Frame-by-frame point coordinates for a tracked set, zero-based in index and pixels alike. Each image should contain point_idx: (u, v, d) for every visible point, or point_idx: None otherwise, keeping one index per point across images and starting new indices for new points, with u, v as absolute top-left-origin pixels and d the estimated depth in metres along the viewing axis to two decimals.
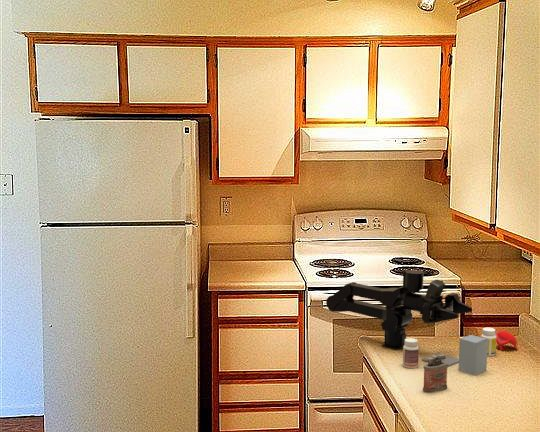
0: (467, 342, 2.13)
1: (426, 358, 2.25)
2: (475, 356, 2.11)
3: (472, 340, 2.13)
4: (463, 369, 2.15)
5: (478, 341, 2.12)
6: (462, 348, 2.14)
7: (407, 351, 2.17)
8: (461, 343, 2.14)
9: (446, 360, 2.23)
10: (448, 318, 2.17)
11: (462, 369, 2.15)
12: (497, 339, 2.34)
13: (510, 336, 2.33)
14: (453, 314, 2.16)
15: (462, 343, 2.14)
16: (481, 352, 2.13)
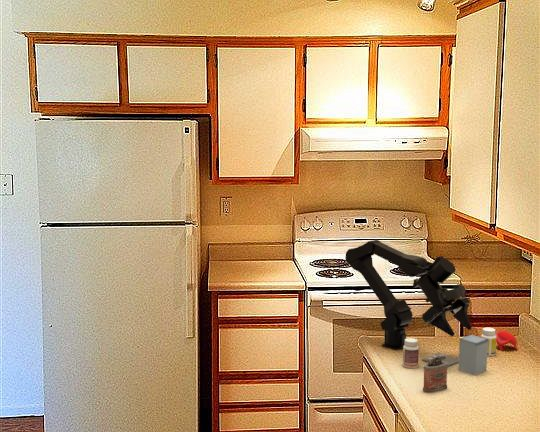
0: (467, 342, 2.13)
1: (426, 358, 2.25)
2: (475, 356, 2.11)
3: (472, 340, 2.13)
4: (463, 369, 2.15)
5: (478, 341, 2.12)
6: (462, 348, 2.14)
7: (407, 351, 2.17)
8: (461, 343, 2.14)
9: (446, 360, 2.23)
10: (444, 330, 2.16)
11: (462, 369, 2.15)
12: (497, 339, 2.34)
13: (510, 336, 2.33)
14: (450, 331, 2.14)
15: (462, 343, 2.14)
16: (481, 352, 2.13)
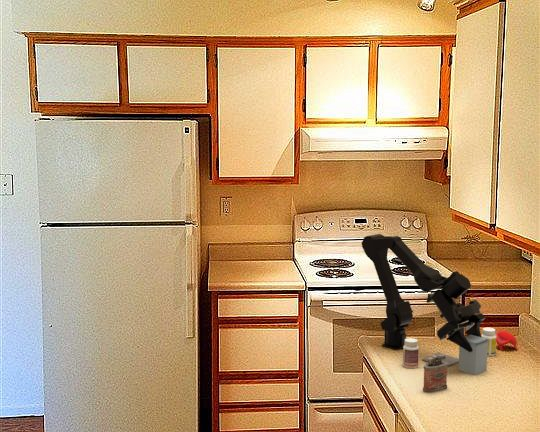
0: None
1: (426, 358, 2.25)
2: (475, 356, 2.11)
3: (472, 340, 2.13)
4: (463, 369, 2.15)
5: (478, 341, 2.12)
6: (462, 348, 2.14)
7: (407, 351, 2.17)
8: None
9: (446, 360, 2.23)
10: (462, 346, 2.13)
11: (462, 369, 2.15)
12: (497, 339, 2.34)
13: (510, 336, 2.33)
14: (468, 347, 2.12)
15: None
16: (481, 352, 2.13)
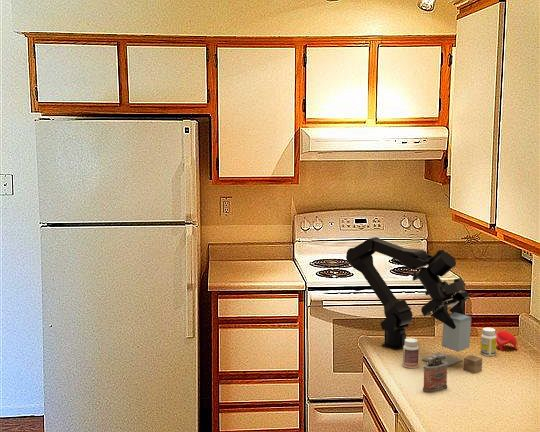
0: None
1: (426, 358, 2.25)
2: (458, 333, 2.15)
3: (456, 317, 2.16)
4: (446, 345, 2.19)
5: (462, 318, 2.16)
6: (446, 325, 2.18)
7: (407, 351, 2.17)
8: None
9: (446, 360, 2.23)
10: (445, 323, 2.16)
11: (445, 346, 2.19)
12: (497, 339, 2.34)
13: (510, 336, 2.33)
14: (452, 324, 2.15)
15: None
16: (465, 329, 2.16)
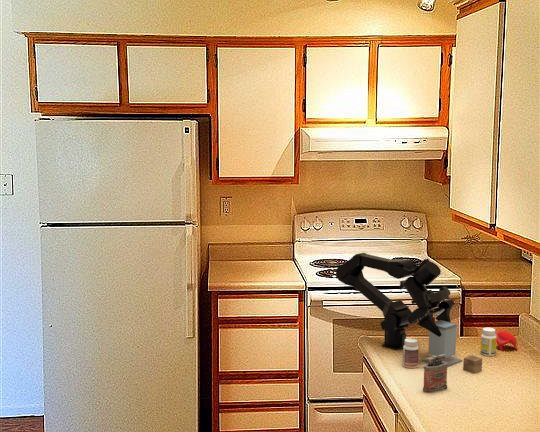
0: None
1: (426, 358, 2.25)
2: (444, 340, 2.19)
3: (441, 325, 2.21)
4: (432, 353, 2.23)
5: (447, 326, 2.20)
6: (432, 333, 2.22)
7: (407, 351, 2.17)
8: None
9: (446, 360, 2.23)
10: (431, 331, 2.21)
11: (432, 353, 2.23)
12: (497, 339, 2.34)
13: (510, 336, 2.33)
14: (437, 332, 2.20)
15: None
16: (450, 336, 2.20)
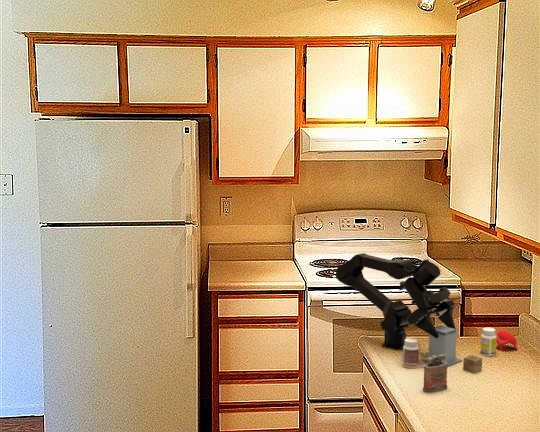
0: None
1: (426, 358, 2.25)
2: (444, 345, 2.19)
3: (441, 330, 2.21)
4: None
5: (447, 331, 2.20)
6: (432, 338, 2.22)
7: (407, 351, 2.17)
8: None
9: None
10: (429, 332, 2.20)
11: None
12: (497, 339, 2.34)
13: (510, 336, 2.33)
14: (435, 333, 2.19)
15: None
16: (450, 341, 2.21)
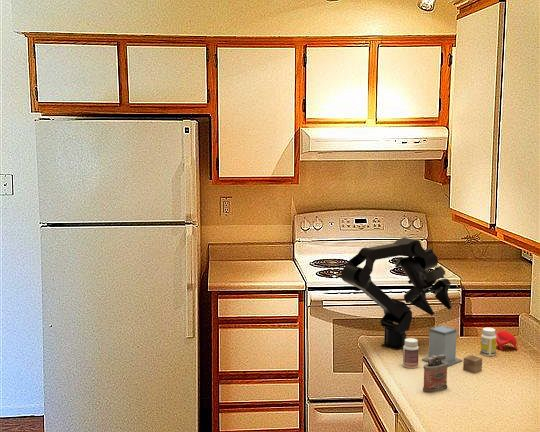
0: (436, 332, 2.21)
1: (426, 358, 2.25)
2: (444, 345, 2.19)
3: (441, 330, 2.21)
4: None
5: (447, 331, 2.20)
6: (432, 338, 2.22)
7: (407, 351, 2.17)
8: (431, 333, 2.23)
9: None
10: (424, 310, 2.28)
11: None
12: (497, 339, 2.34)
13: (510, 336, 2.33)
14: (430, 311, 2.27)
15: (432, 333, 2.22)
16: (450, 341, 2.21)
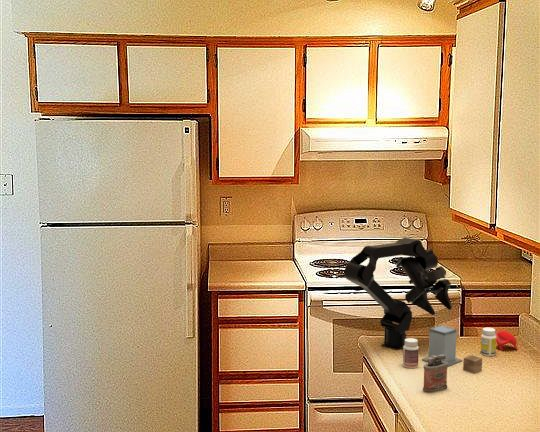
0: (436, 332, 2.21)
1: (426, 358, 2.25)
2: (444, 345, 2.19)
3: (441, 330, 2.21)
4: None
5: (447, 331, 2.20)
6: (432, 338, 2.22)
7: (407, 351, 2.17)
8: (431, 333, 2.23)
9: None
10: (425, 309, 2.29)
11: None
12: (497, 339, 2.34)
13: (510, 336, 2.33)
14: (431, 310, 2.28)
15: (432, 333, 2.22)
16: (450, 341, 2.21)
